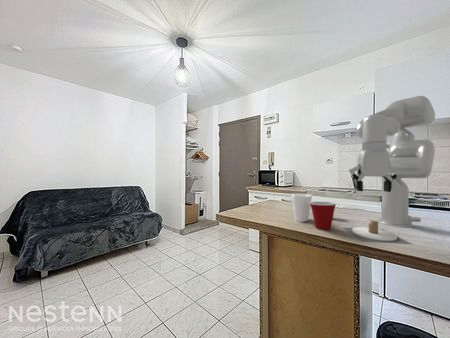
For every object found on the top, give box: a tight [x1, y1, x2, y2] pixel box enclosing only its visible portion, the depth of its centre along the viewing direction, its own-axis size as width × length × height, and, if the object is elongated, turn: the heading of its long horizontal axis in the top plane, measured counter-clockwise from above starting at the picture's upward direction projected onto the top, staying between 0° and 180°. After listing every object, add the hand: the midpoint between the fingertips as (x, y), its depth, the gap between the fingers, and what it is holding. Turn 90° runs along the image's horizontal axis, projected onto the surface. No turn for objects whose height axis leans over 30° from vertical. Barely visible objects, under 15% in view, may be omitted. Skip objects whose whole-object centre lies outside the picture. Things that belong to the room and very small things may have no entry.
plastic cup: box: [309, 201, 338, 231], centre depth 85 cm, size 11×11×12 cm
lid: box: [352, 219, 398, 241], centre depth 77 cm, size 14×14×5 cm
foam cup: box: [291, 193, 313, 223], centre depth 99 cm, size 10×9×13 cm
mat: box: [342, 226, 412, 245], centre depth 77 cm, size 16×16×1 cm
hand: (373, 191), depth 76 cm, fingers open, 9 cm apart
